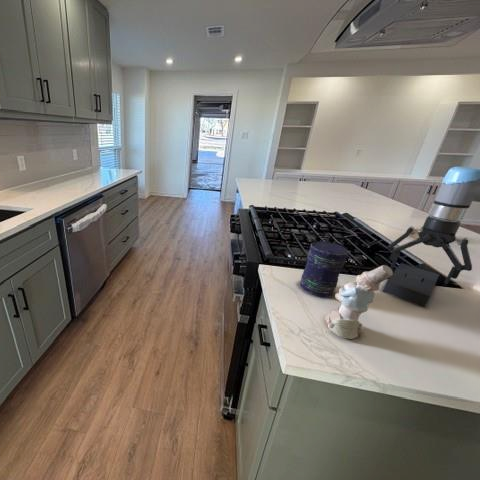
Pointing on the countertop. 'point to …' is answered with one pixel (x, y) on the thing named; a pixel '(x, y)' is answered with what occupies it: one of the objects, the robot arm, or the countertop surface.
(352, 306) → the figurine
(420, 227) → the bread roll
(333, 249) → the storage jar
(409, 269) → the loose pad
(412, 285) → the base pad
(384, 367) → the countertop surface
